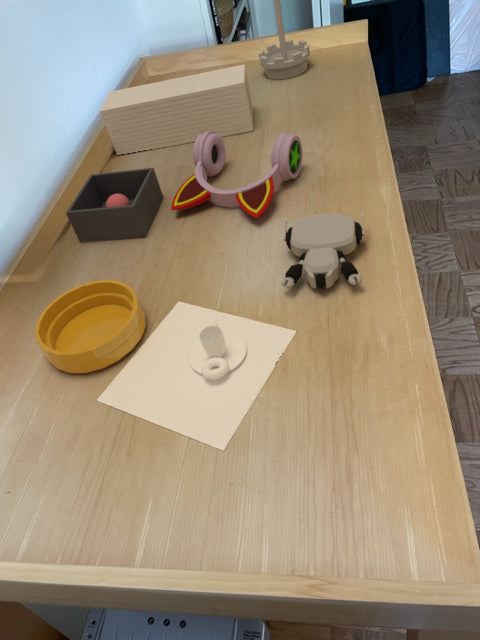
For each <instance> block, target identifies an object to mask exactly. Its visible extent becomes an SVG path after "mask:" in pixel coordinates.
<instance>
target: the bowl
mask: <svg viewBox="0 0 480 640" xmlns="http://www.w3.org/2000/svg"><path fill="white" fill-rule="evenodd" d="M146 327H147V323H146V313H145V311H144V309H143V306H142V304H141V302H140V300H139V297H138V295H137V294H136V292H135V290H134V289H133V287H132V286H130V285H128V284H127V283H124V282H122V281H119V280H113V279H101V280H93V281H90V282H89V281H88V282H85V283H81V284H79V285H77V286H75V287H73V288H71V289H69V290H66V291H65V292H63V293H62V294H60V295H59V296H58V297H56V298H54V299H53V301H51V302H50V303H49V304H48V305H47V306H46V307H45V308H44V310H43V311H42V312H41V314H40V316H39V318H38V319H37V321H36V323H35V327H34V328H35V330H34V336H35V340H36V344H37V345H38V347H39V348H40V349H41V351H42V353H43V354H44V356H45V357H46V359H47V361H48V362H49V363H50V364H51V365H52V366H54V367H55V368H56V369H57V370H60V371H62V372H65V373H69V374H86V373H90V372H95V371H98V370H102V369H106V368H107V367H109V366H111V365H113V364H115V363H117V362H119V361H120V360H121V359H122V358H124V357H125V356H126V355H128V354H129V353H130V352H131V351H132V350H133V349H134V348H135V347H136V346H137V344H138V343H139V341H140V340H141V339H142V338H143V335H144V333H145V329H146Z"/></svg>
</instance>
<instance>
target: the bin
mask: <svg viewBox="0 0 480 640" xmlns="http://www.w3.org/2000/svg"><path fill="white" fill-rule="evenodd" d="M113 194H122V195H124V196H126V197H127V198H128V199H129V201H130V204H131V205H127V206H116V207H106V202H107V199H108V198H109V197H110V196H111V195H113ZM163 200H164V194H163V192H162V189H161V186H160V183H159V179H158V177H157V174H156V170H155V168H154V167H146V168H136V169H127V170H119V171H110V172H109V171H108V172H101V173H92V174H90V175H89V176H88V177H87V179H86V181H85V182H84V184H83V186H82V187H81V189H80V190H79V191H78V193H77V194H76V196H75V198H74V199H73V200H72V202H71V204H70V205H69V206H68V208H67V210H66V212H65V215H66V217H67V218H68V221H69V223H70V225H71V227H72V229H73V231H74V233H75V235H76V237H77V239H78V241H79V243H93V242H105V241H118V240H130V239H142V238H143V239H144V238H147V236H148V233H149V231H150V230H151V229H150V228H151V227H152V224H153V222H154V220H155V218H156V216H157V213H158V211H159V209H160V206H161V204H162V202H163Z"/></svg>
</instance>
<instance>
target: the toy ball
mask: <svg viewBox="0 0 480 640" xmlns="http://www.w3.org/2000/svg"><path fill="white" fill-rule="evenodd" d="M127 205H131V204H130V201H129V199H128V198H127V197H126V196H124V195H122V194H113V195H111V196H110V197H109V198H108V199H107V202H106V207H116V206H127Z"/></svg>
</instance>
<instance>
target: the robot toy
mask: <svg viewBox="0 0 480 640" xmlns="http://www.w3.org/2000/svg"><path fill="white" fill-rule="evenodd" d="M364 218H365V213H364V211H362V212H361V223H362V224H360V222H357V221H356V220H355V218H354V217H353V216H350V215H348V214H344V213H338V212H337V213H336V212H331V213H330V212H322V213H316V214H311V215H306V216H303V217H300V218H299V219H297V220H296V221H294V222H293V223H292V226H290V227H289V228H288V229H287V224H288V219H287V218H284V234H283V242H285V245H286V246H287V248H288V249H289V250H291V252H292V254H293V255H295V256H297V257H299V259H298V260H299V262H298V263H295V264H293V265H292V264H291V265H290V267H288V269H287V271H286V272H285V275H284V276H285V277H284V278H283V279H282V281H281V283H280V285H281V287H283V288H285V287H286V288H287V289H291V288H293V286H294V285H295V284H297V283H298V282H299V281H300V279H301V278H302V276H303V274H304V278H305V281H307V283H309V285H310V288H312V289H314V290H315V289H318V290H322V289H325V288H326V289H329V288H331V287H333V285H334V283H335V282H336V281H337V280H338V279H339V278H340V275H341V274H342V276H343V277H344V278H345V280H346V281H347V282H348V283H349V284H351V286H356V285H357V284H361V283H362V281H363V280H362V276H361V275H360V274H359V271H358V269H357V267H356V266H355V265H354V263H353V262H352V261H348V260H346V256H345V255H348V254H350V253H352V252H353V251H355V249H356V247H357V246H358V245H361V242H362V240H363V237H364V236H365V235H366V234H365V233H366V232H365V231H366V230H365V219H364ZM361 225H362V226H361ZM303 272H304V273H303Z"/></svg>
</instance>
